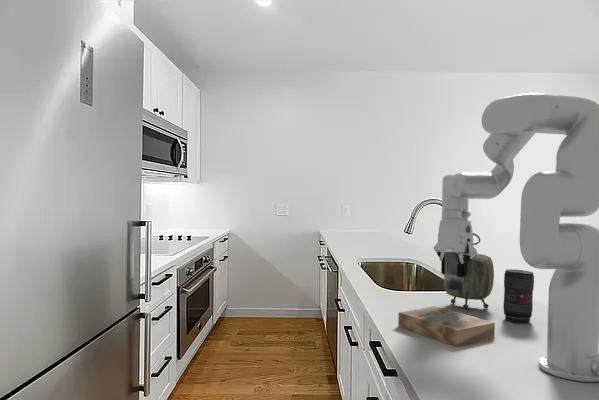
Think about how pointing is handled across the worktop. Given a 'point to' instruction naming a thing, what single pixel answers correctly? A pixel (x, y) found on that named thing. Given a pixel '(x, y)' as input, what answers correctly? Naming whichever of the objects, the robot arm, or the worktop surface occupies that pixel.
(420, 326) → the mount board
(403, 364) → the worktop surface
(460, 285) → the shiny metal canister
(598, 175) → the robot arm
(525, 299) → the camera lens
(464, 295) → the tabletop clock
